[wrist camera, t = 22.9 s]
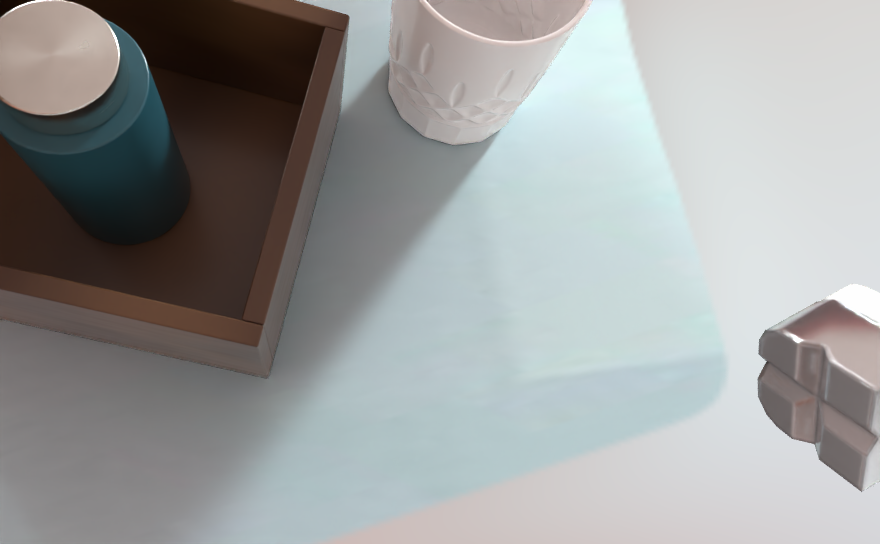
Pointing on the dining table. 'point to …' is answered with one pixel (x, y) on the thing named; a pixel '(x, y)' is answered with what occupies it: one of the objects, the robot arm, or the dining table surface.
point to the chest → (194, 188)
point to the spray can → (90, 121)
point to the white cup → (472, 60)
